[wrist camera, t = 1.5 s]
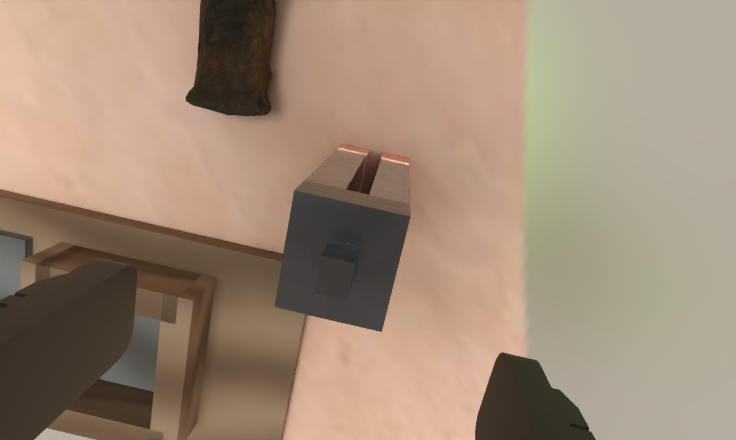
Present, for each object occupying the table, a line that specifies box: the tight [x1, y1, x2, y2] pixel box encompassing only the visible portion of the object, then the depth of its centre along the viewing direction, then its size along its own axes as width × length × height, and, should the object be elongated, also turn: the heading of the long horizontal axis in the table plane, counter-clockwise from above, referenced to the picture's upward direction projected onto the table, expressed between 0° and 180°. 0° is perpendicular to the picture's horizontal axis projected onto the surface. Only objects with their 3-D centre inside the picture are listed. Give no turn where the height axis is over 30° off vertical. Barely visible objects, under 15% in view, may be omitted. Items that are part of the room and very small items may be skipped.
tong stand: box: [0, 190, 306, 440], centre depth 28 cm, size 14×20×4 cm
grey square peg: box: [274, 144, 410, 332], centre depth 20 cm, size 4×4×13 cm
